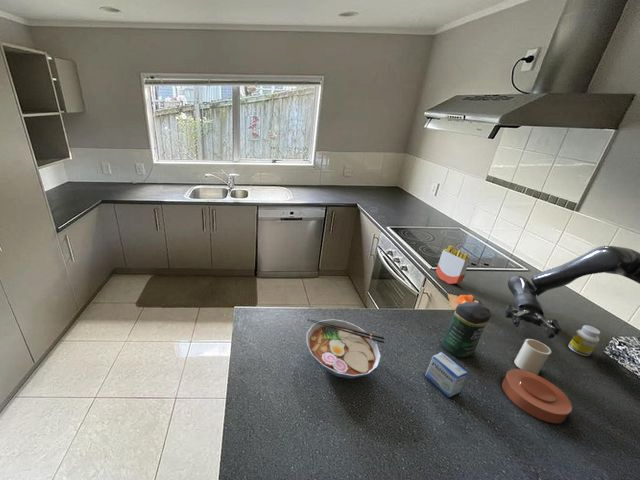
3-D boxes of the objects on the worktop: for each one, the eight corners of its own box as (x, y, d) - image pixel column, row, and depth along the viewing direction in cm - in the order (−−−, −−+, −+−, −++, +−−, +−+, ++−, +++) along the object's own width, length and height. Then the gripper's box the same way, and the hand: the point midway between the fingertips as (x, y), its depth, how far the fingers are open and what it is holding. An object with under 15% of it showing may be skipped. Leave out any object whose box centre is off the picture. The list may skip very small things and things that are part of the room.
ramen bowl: (292, 375, 86) (295, 356, 83) (308, 326, 106) (310, 309, 102) (379, 407, 78) (386, 387, 74) (378, 348, 97) (383, 329, 94)
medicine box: (424, 376, 88) (432, 355, 84) (434, 371, 89) (442, 351, 86) (449, 398, 81) (458, 377, 78) (458, 393, 83) (468, 372, 79)
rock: (451, 308, 119) (454, 300, 117) (447, 293, 129) (449, 285, 127) (485, 317, 114) (489, 309, 113) (478, 301, 124) (481, 293, 123)
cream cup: (537, 365, 93) (549, 345, 90) (540, 378, 89) (553, 357, 85) (513, 355, 97) (524, 335, 93) (514, 367, 92) (526, 347, 88)
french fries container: (440, 273, 145) (451, 242, 138) (461, 285, 136) (473, 252, 129) (434, 275, 143) (444, 244, 136) (454, 287, 134) (467, 254, 127)
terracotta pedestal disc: (560, 395, 83) (566, 385, 82) (571, 434, 73) (579, 424, 71) (500, 369, 91) (505, 360, 89) (503, 401, 81) (508, 391, 79)
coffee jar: (457, 361, 94) (476, 317, 86) (437, 343, 100) (453, 301, 93) (478, 354, 96) (498, 311, 89) (457, 338, 103) (474, 296, 96)
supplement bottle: (566, 342, 103) (578, 321, 100) (587, 349, 101) (600, 328, 97) (569, 351, 99) (583, 330, 96) (591, 359, 97) (606, 337, 93)
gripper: (508, 291, 111) (511, 312, 98) (557, 306, 103) (568, 331, 91) (501, 306, 113) (503, 329, 101) (548, 322, 106) (557, 348, 94)
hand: (533, 330), depth 96 cm, fingers open, 8 cm apart
